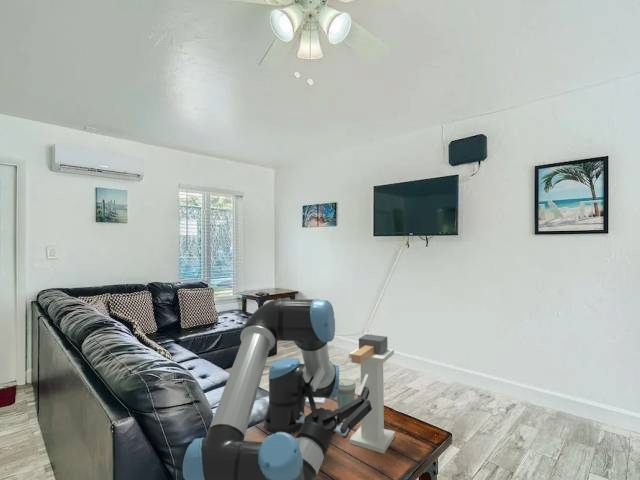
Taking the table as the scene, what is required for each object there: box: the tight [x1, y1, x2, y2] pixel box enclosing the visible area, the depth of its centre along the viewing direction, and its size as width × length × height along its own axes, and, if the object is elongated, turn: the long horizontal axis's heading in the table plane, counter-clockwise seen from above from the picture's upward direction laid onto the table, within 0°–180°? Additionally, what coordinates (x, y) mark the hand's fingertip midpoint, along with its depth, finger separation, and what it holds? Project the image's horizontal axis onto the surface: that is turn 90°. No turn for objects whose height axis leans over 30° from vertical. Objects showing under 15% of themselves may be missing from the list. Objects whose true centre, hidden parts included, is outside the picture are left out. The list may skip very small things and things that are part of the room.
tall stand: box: [348, 347, 396, 455], centre depth 117 cm, size 12×12×30 cm
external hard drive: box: [305, 397, 327, 406], centre depth 151 cm, size 2×8×12 cm
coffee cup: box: [336, 378, 357, 409], centre depth 138 cm, size 8×9×12 cm
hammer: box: [350, 333, 389, 365], centre depth 114 cm, size 19×8×4 cm, turn 151°
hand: (344, 373), depth 92 cm, fingers open, 13 cm apart
